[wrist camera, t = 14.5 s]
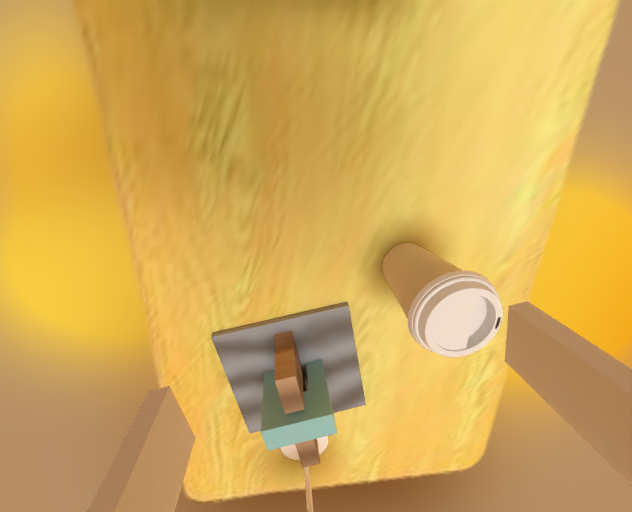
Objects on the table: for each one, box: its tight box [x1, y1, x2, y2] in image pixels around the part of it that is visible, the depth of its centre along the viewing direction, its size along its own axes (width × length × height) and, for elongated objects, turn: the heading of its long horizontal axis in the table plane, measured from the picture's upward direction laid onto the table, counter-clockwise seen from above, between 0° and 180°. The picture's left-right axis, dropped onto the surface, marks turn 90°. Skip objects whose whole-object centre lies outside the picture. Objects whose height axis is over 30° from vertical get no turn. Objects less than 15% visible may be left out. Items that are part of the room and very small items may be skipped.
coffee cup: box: [382, 243, 503, 357], centre depth 36 cm, size 10×10×15 cm
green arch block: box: [261, 359, 337, 451], centre depth 42 cm, size 4×9×10 cm, turn 101°
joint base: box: [211, 302, 366, 468], centre depth 43 cm, size 20×20×10 cm
